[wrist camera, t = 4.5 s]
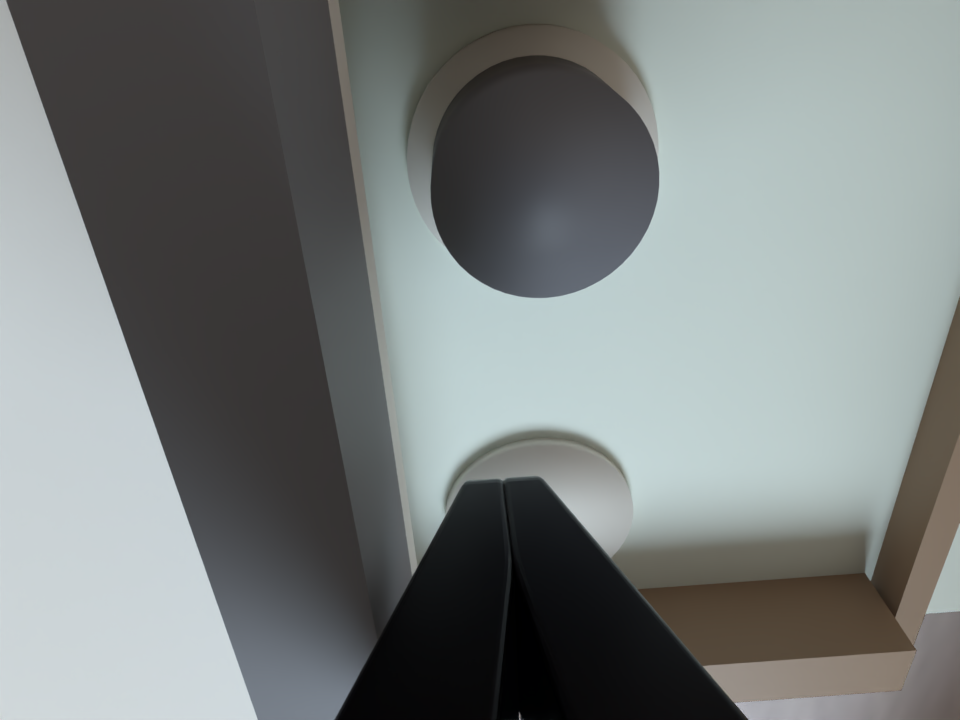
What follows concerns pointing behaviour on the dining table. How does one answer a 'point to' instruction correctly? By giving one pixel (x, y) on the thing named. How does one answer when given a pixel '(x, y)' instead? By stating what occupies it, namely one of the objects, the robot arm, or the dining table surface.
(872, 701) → the dining table surface
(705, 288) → the board
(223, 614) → the lid
